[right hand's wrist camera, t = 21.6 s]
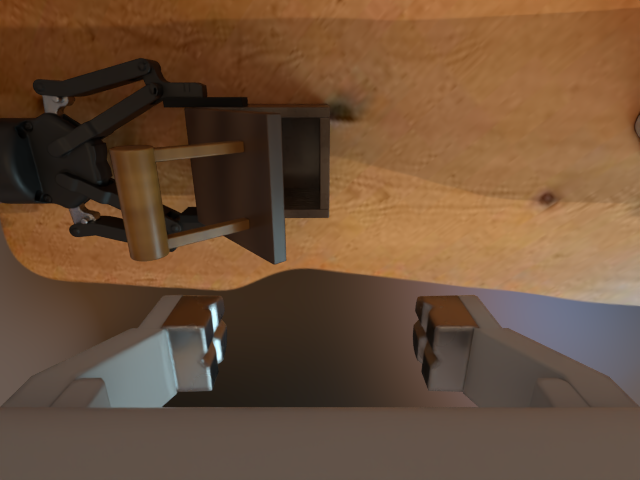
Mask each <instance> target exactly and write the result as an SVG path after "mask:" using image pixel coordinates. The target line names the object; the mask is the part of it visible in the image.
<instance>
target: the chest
mask: <svg viewBox="0 0 640 480" xmlns="http://www.w3.org/2000/svg"><path fill="white" fill-rule="evenodd" d="M193 108H210V109H225V110H241V111H256V112H271V113H280V114H281V131H282V158H283V185H284V213H285V218H329V157H330V118H329V117H330V107H329V106H328V105H327V104H248V106H245V107H193Z"/></svg>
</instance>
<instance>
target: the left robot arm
mask: <svg viewBox="0 0 640 480" xmlns="http://www.w3.org/2000/svg"><path fill="white" fill-rule="evenodd" d="M140 80H144V82H145V84H146V86H145V87H143V88H141V89H140V90H138V91H137V92H135V93H133V94H132V95H130V96H129V97H127V98H125V99H124V100H122V101H121V102H119V103H118V104H116V105H114V106H113V107H111V108H110V109H108V110H106V111H105V112H103V113H102V114H100V115H98V116H97V117H95V118H94V119H92V120H90V121H88V122H85V123H83V124H79V123H78V122H76V121H75V120H73V119H72V118H70V117H69V116H67V115H65V114H63V110H64V108H65V107H67V106H71V105H72V104H73V103H74V101H75V97H81V96H88V95H91V94H95V93H98V92H102V91H105V90H109V89H112V88H116V87H119V86H123V85H126V84H130V83H133V82H137V81H140ZM33 88H34V90H35V91H36V93H38V94H40V95H42V96H43V102H44V109H45V113H44V114H42V115H40V116H39V117H37V118H0V203H8V204H36V203H54V204H58V205H61V206H63V207H65V208H69V211H70V214H71V216H72V219H73V222H74V225H72V226H71V227H70V228H69V231H70V233H71V234H72V235H73V236H75V237H83V236H94V235H96V236H101V237H105V238H110V239H114V240H119V241H123V242H127V237H126V232H125V227H124V222H123V219H121V218H117V217H112V216H100V213H99V212H97V211H92V210H89V209H87V208H86V207H85V205H84V204H85V203H86V202H88V201H89V200H90V199H92V200H94V201H96V202H99V203H102V204H109V205H111V206H113V207H116V208H118V209H120V210H121V207H120V202H119V197H118V192H117V186H116V181H115V179H112V178H110V177H112V172H111V168H110V166H109V164H108V161H107V147H106V143H103V142H102V139H103V138H105V137H107V136H108V135H110V134H111V133H113V132H114V131H115V130H116V129H118V128H119V127H121V126H123V125H124V124H126V123H128V122H129V121H131V120H132V119H134V118H136V117H137V116H139V115H140V114H142V113H144V112H145V111H147V110H149V109H150V108H152V107H153V106H155V105H157V104H158V103H160V102H162V101H163V104H164V107H245V106H248V100H247V97H207V89H206V85H204V84H201V83H170V82H168V81H167V80H166V79H165V78H164V77H163V74H162V72H161V66H160V64H159V63H158V62H156V61H153V60H148V59H143V58H139V59H136V60H132V61H129V62H125V63H122V64H119V65H115V66H112V67H108V68H105V69H101V70H98V71H95V72H91V73H88V74H84V75H81V76H78V77H74V78H71V79H67V80H64V81H60V80H43V79H38V80H35V81H34V83H33ZM162 205H163V204H162ZM163 211H164V218H165V224H166V231H167V235H169V234H174V233H178V232H183V231H187V230H191V229H196V228H200V227H205V225H204V224H202V223H200V222H199V221H198V215H197V207H188V208H187V209H186V210H184V211H183V212H182V213H180V212H177V211H175V210H173V209H171V208H169V207H167V206H165V205H163ZM176 248H177V247H175V248H171V249H169V250H170V251H169V252H173V251H174V250H176Z"/></svg>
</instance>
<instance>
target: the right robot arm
mask: <svg viewBox="0 0 640 480" xmlns="http://www.w3.org/2000/svg"><path fill="white" fill-rule="evenodd" d="M635 130H636V132H637V134H638V136H639V138H640V115H639V117H638V119H637V121H636V124H635ZM224 311H225V309H224V302H223V299H222V297H221V296H187V295H186V296H183V295H167V296H163V297H162V298H161V299H160V300H159V302H158V303H157V304H156V305H155V307H154V308H153V309H152V311H151V312H150V313H149V314H148V316H147V317H146V318H145V320H144V321H143V322H142V323H141V325H140V326H139V327H138V328H131V329H129V330H127V331H125V332H123V333H121V334H119V335H117V336H115V337H113V338H110V339H108V340H106V341H104V342H102V343H100V344H98V345H96V346H94V347H92V348H90V349H87V350H85V351H83V352H81V353H79V354H77V355H75V356H73V357H71V358H69V359H67V360H65V361H62V362H60V363H58V364H56V365H54V366H52V367H50V368H48V369H46V370H44V371H42V372H39V373H37V374H35V375H33V376H31V377H30V378H29V379H28V380H27V381H26V382H25V383H24V384H23V385H22V386H21V387H20V388H19V389H18V390H17V391H16V392H15V393H14V394H13V395H12V396H11V397H10V398H9V399H8V400H7V401H6V402H5V403H4V404H3V405H2V406H1V407H0V480H640V407H639V406H638V405H637V404H636V403H635V402H634V401H633V400H632V399H631V398H630V397H629V396H628V395H627V394H626V393H625V392H624V391H623V390H622V389H621V388H620V387H619V386H618V385H617V384H616V383H615V382H614V381H613V380H612V379H611V378H610V377H608V376H606V375H604V374H602V373H600V372H598V371H596V370H594V369H592V368H590V367H588V366H586V365H584V364H581V363H579V362H577V361H575V360H573V359H571V358H569V357H567V356H565V355H563V354H561V353H559V352H557V351H554V350H552V349H550V348H548V347H546V346H544V345H542V344H540V343H538V342H536V341H534V340H532V339H530V338H527V337H525V336H523V335H521V334H519V333H517V332H515V331H513V330H511V329H509V328H502V327H501V326H500V325H499V323H498V322H497V321H496V320H495V318H494V317H493V316H492V315H491V313H490V312H489V311H488V309H487V308H486V307H485V306H484V304H483V303H482V302H481V301H480V299H479V298H478V297H477V296H475V295H461V296H457V295H455V296H420V297H418V298H417V302H416V309H415V311H416V314H417V316H418V318H419V320H418V321H417V322H416V323H415V324H414V328H413V346H414V351H415V355H416V358H417V360H418V361H419V362H421V363H422V375H423V377H424V380H425V383H426V385H427V388H428V390H429V391H459V392H463V394H465V395H466V396H467V397H468V398H469V399H470V400H471V401H473V402H474V403H475V404H476V405H477V406H478V407H162V406H163V405H164V404H165V403H166V402H168V401H169V400H170V399H171V398H172V397H173V396H174V395H176V394H177V392H180V391H211V390H212V388H213V385H214V383H215V380H216V377H217V374H218V363H219V362H221V361H222V360H223V358H224V355H225V351H226V345H227V328H226V324H225V323H224V322H223V321H222V320H221V319H222V316H223V314H224Z"/></svg>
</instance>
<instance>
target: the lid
mask: <svg viewBox="0 0 640 480" xmlns="http://www.w3.org/2000/svg"><path fill="white" fill-rule="evenodd" d="M184 110H185V119H186V127H187V135H188V143H189V145H180V146H169V147H157V148H153V147H152V146H149V145H128V146H118V147H113V148H111V149H110V150H109V151H110V156H111V161H112V166H113V171H114V176H115V181H116V186H117V192H118V197H119V202H120V207H121V212H122V217H123V222H124V227H125V232H126V237H127V242H128V247H129V252H130V257H131V258H132V259H133V260H136V261H152V260H156V259H160V258H162V257H164V256H166V255H168V254H169V251H170V250H169V249H171V248H175V247H179V246H183V245H187V244H191V243H195V242H199V241H203V240H207V239H211V238H215V237H219V236H225V237H226V238H228V239H230V240H232V241H233V242H235V243H237V244H239V245H240V246H242V247H244V248H246V249H247V250H249V251H251V252H253V253H254V254H256V255H258V256H260V257H261V258H263V259H265V260H267V261H269V262H270V263H272V264H278V263H281V262H284V261H286V240H285V213H284V185H283V158H282V131H281V114H280V113H271V112H256V111H241V110H225V109H210V108H184ZM188 158H190V159H191V167H192V175H193V183H194V191H195V199H196V207H197V215H198V221H199V222H200V223H202V224H204V225H205V227H200V228H196V229H191V230H187V231H183V232H178V233H174V234H169V235H167V231H166V224H165V218H164V211H163V205H162V199H161V192H160V186H159V180H158V173H157V167H156V162H160V161H169V160H179V159H188Z"/></svg>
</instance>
